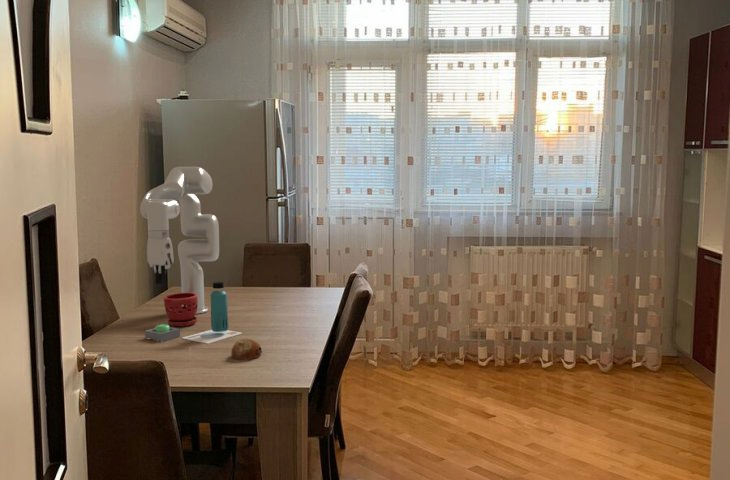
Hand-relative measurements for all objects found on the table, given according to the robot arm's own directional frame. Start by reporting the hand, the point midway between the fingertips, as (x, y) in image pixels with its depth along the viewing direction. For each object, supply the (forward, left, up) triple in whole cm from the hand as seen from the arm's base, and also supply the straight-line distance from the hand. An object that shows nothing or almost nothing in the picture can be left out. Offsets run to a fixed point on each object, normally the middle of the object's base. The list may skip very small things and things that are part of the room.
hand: (160, 283), depth 279 cm
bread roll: (+44, -1, -21) cm, 49 cm away
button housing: (0, 0, -21) cm, 21 cm away
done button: (0, 0, -20) cm, 20 cm away
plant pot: (-11, +19, -21) cm, 30 cm away
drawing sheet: (+14, +12, -21) cm, 28 cm away
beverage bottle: (+15, +15, -21) cm, 29 cm away
